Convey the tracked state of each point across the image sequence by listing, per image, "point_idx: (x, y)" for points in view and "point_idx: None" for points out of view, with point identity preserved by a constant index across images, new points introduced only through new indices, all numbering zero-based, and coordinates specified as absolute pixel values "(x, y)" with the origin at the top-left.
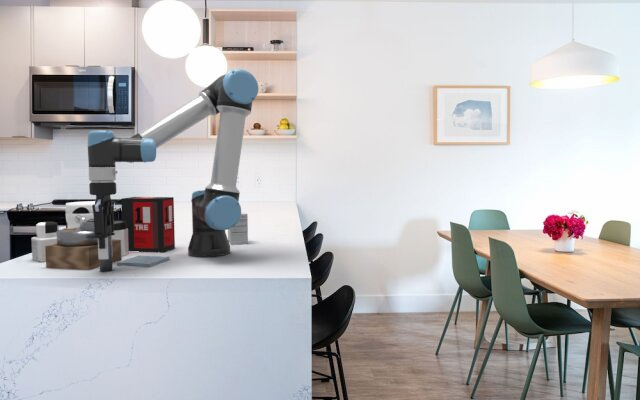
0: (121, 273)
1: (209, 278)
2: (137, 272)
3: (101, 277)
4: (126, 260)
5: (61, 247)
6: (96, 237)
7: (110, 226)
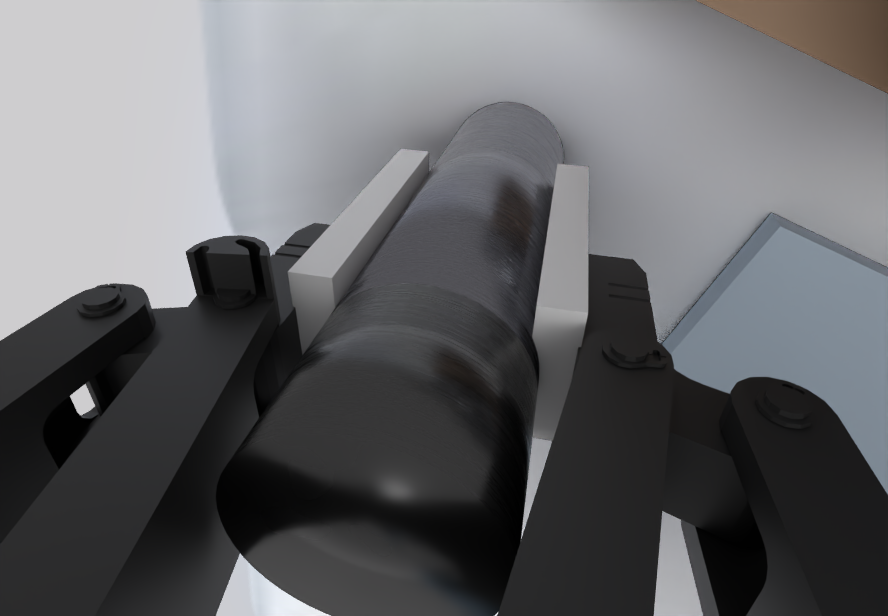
0: None
1: (256, 606)
2: None
3: (255, 174)
4: (843, 306)
5: None
6: (215, 274)
7: (359, 605)
